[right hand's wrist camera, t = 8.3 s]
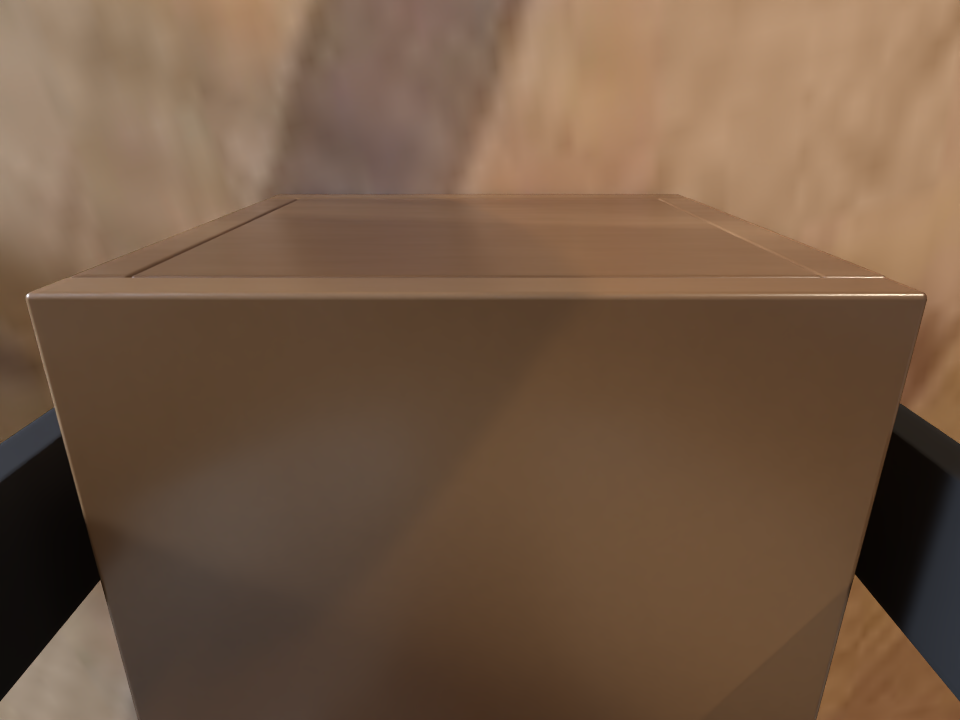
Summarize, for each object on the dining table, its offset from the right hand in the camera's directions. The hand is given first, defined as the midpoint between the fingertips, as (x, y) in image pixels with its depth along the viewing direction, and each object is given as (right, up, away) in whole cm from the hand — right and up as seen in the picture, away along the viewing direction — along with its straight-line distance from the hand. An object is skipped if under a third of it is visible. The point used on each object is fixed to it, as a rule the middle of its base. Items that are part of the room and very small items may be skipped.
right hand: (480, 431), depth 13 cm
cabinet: (0, -2, +7) cm, 7 cm away
